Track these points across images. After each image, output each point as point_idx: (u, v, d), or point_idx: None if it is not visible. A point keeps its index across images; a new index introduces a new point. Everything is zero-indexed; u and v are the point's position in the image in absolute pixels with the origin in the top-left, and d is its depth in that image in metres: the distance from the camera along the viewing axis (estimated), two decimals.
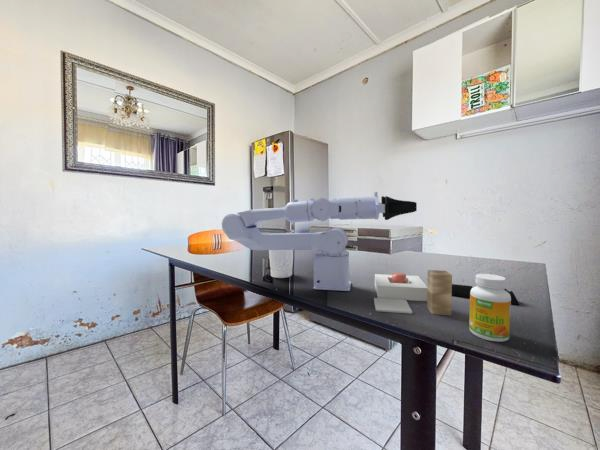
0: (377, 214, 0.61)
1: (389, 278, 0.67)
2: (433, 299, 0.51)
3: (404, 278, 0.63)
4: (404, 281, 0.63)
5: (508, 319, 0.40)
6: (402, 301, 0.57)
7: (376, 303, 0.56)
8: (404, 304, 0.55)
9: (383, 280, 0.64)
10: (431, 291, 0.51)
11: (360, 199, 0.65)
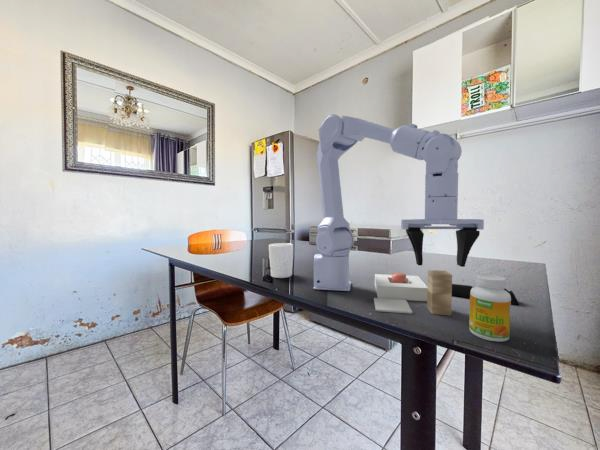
0: None
1: (389, 278, 0.67)
2: (433, 299, 0.51)
3: (404, 278, 0.63)
4: (404, 281, 0.63)
5: (508, 319, 0.40)
6: (402, 301, 0.57)
7: (376, 303, 0.56)
8: (404, 304, 0.55)
9: (383, 280, 0.64)
10: (431, 291, 0.51)
11: (435, 201, 0.49)
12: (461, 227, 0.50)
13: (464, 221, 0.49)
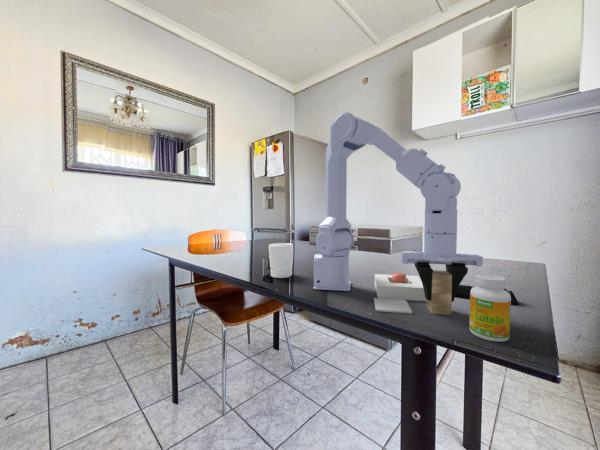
0: None
1: (389, 278, 0.67)
2: (433, 299, 0.51)
3: (404, 278, 0.63)
4: (404, 281, 0.63)
5: (508, 319, 0.40)
6: (402, 301, 0.57)
7: (376, 303, 0.56)
8: (404, 304, 0.55)
9: (383, 280, 0.64)
10: (431, 291, 0.51)
11: (434, 238, 0.50)
12: (460, 263, 0.51)
13: (463, 258, 0.49)
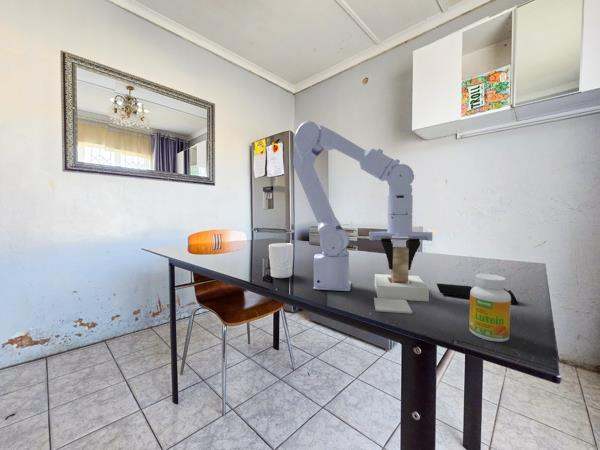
0: None
1: (389, 278, 0.67)
2: (394, 269, 0.62)
3: None
4: None
5: (508, 319, 0.40)
6: (402, 301, 0.57)
7: (376, 303, 0.56)
8: (404, 304, 0.55)
9: (383, 280, 0.64)
10: None
11: (393, 218, 0.61)
12: (415, 238, 0.62)
13: (416, 234, 0.61)
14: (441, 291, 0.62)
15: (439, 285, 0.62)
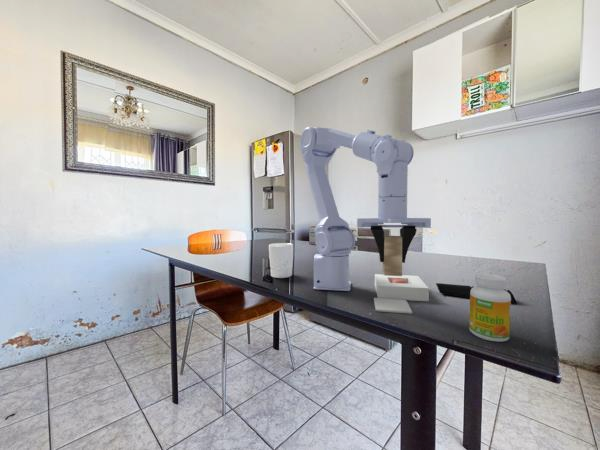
0: None
1: (389, 278, 0.67)
2: (385, 261, 0.53)
3: None
4: None
5: (508, 319, 0.40)
6: (402, 301, 0.57)
7: (376, 303, 0.56)
8: (404, 304, 0.55)
9: (383, 280, 0.64)
10: (384, 254, 0.54)
11: (385, 201, 0.52)
12: (411, 225, 0.53)
13: (412, 220, 0.51)
14: (441, 291, 0.62)
15: (439, 285, 0.62)
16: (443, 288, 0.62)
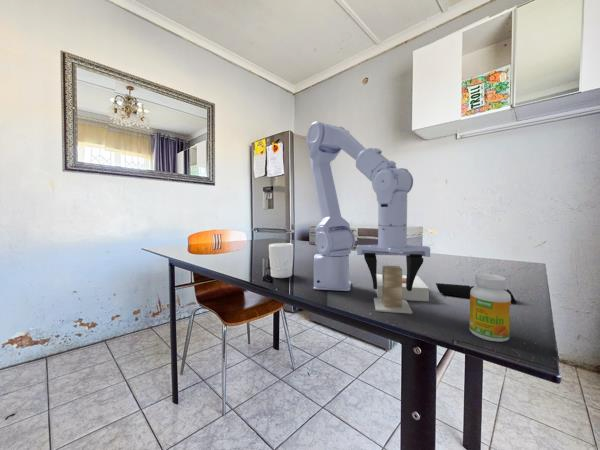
0: None
1: None
2: (385, 293, 0.54)
3: None
4: None
5: (508, 319, 0.40)
6: (402, 301, 0.57)
7: (376, 303, 0.56)
8: (404, 304, 0.55)
9: None
10: (384, 285, 0.54)
11: (385, 230, 0.52)
12: (410, 254, 0.53)
13: (412, 249, 0.52)
14: (440, 291, 0.62)
15: (438, 285, 0.62)
16: (443, 288, 0.62)
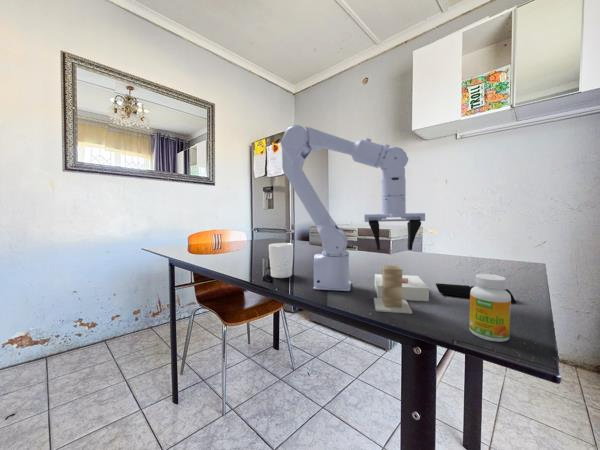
0: None
1: None
2: (385, 293, 0.54)
3: None
4: None
5: (508, 319, 0.40)
6: (402, 301, 0.57)
7: (376, 303, 0.56)
8: (404, 304, 0.55)
9: None
10: (384, 285, 0.54)
11: (387, 199, 0.64)
12: (409, 219, 0.65)
13: (409, 214, 0.63)
14: (440, 291, 0.62)
15: (438, 285, 0.62)
16: (443, 288, 0.62)
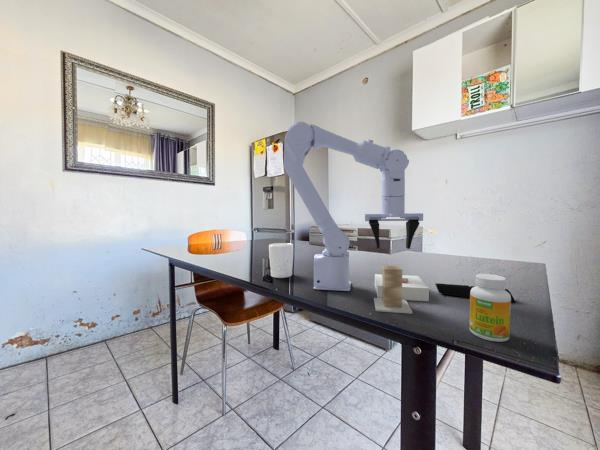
0: None
1: None
2: (385, 293, 0.54)
3: None
4: None
5: (508, 319, 0.40)
6: (402, 301, 0.57)
7: (376, 303, 0.56)
8: (404, 304, 0.55)
9: None
10: (384, 285, 0.54)
11: (387, 200, 0.66)
12: (407, 219, 0.67)
13: (408, 214, 0.66)
14: (440, 291, 0.62)
15: (438, 285, 0.62)
16: (442, 288, 0.62)
